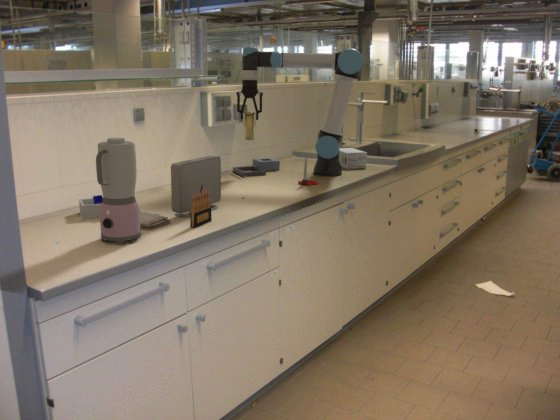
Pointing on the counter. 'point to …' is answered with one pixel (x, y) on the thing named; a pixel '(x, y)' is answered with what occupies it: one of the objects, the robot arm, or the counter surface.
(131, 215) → the blender
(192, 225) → the ammunition clip
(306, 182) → the red base upright rod
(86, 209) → the box
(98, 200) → the cable clip
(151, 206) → the counter surface
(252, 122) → the amber glass vase
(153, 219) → the washcloth
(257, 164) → the block
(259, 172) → the tray
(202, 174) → the network device
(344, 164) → the supplement box
